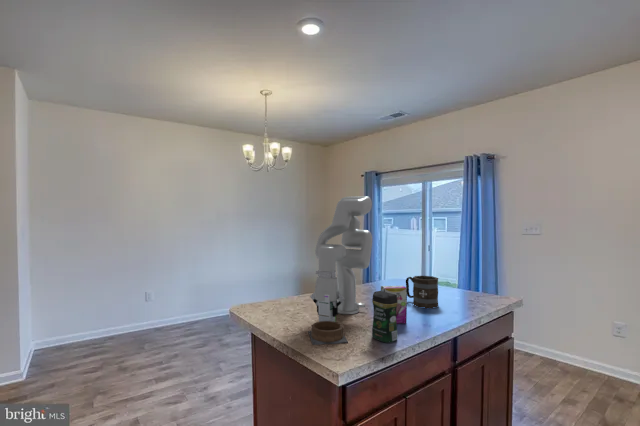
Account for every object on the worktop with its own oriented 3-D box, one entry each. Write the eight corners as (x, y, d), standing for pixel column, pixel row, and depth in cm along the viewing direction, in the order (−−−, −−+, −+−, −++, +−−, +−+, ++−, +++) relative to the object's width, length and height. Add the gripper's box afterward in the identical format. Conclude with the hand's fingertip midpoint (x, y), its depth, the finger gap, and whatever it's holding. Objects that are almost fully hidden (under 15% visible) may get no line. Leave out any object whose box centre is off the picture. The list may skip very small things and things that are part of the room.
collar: (340, 330, 140) (340, 320, 140) (348, 342, 127) (348, 331, 127) (308, 332, 138) (308, 321, 138) (312, 344, 125) (312, 332, 125)
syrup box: (329, 328, 142) (329, 294, 142) (318, 326, 145) (318, 293, 145) (336, 324, 147) (336, 292, 147) (324, 322, 150) (324, 290, 150)
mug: (443, 305, 181) (443, 278, 181) (429, 310, 172) (429, 281, 172) (413, 298, 196) (413, 273, 196) (398, 302, 188) (398, 275, 188)
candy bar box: (383, 325, 148) (383, 288, 148) (379, 321, 153) (379, 285, 153) (407, 323, 150) (407, 287, 150) (402, 320, 155) (402, 285, 155)
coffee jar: (368, 337, 132) (368, 291, 133) (382, 333, 137) (382, 288, 137) (387, 345, 125) (387, 295, 125) (401, 340, 130) (401, 292, 130)
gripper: (305, 274, 146) (305, 315, 146) (343, 277, 140) (343, 320, 140) (312, 271, 153) (312, 310, 153) (348, 274, 147) (348, 314, 147)
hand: (327, 314), depth 146 cm, fingers closed on syrup box, 6 cm apart
